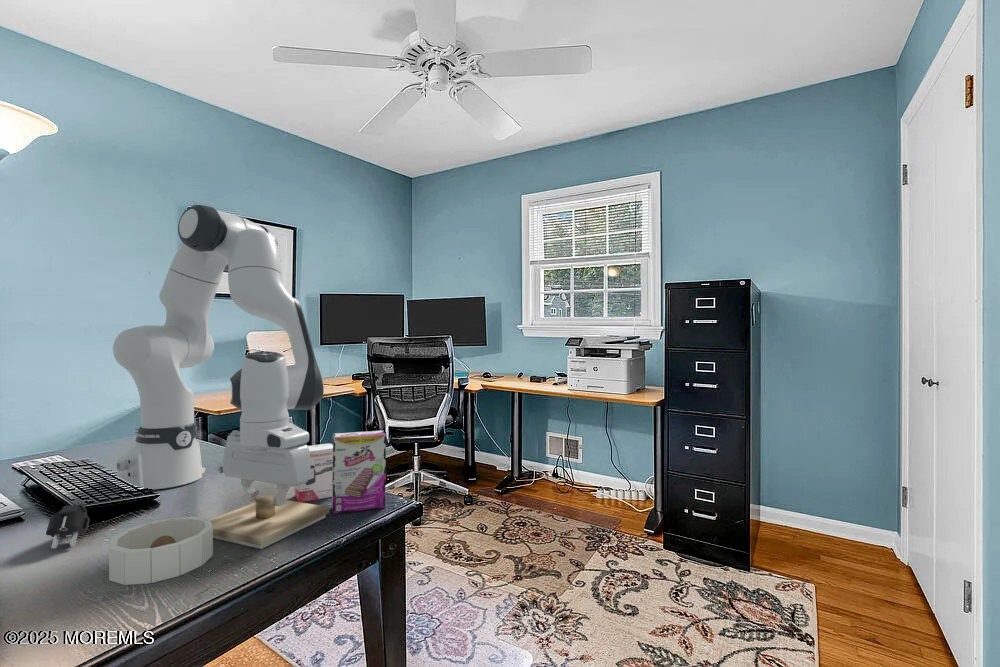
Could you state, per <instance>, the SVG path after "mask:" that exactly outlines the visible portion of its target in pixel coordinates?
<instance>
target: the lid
mask: <svg viewBox="0 0 1000 667" xmlns="http://www.w3.org/2000/svg"><path fill="white" fill-rule="evenodd" d="M274 496H275V495H273V494H269V495H268V494H266V495H261V496H258V498H256V500H255V501H254V502H252V503H250V504H247V505H244V506H241V507H240V508H236V509H234V510H231V511H229V512H226V513H222V514H221V515H219V516H216V517H212V518H209V519H210V521H211V523H212V525H213V535H214V536H219V537H223V538H228V539H232V540H237V541H241V542H246V543H251V544H255V545H260V546H262V545H264V544H266V543H268V542H270V541H272V540H274V539H276V538H278V537H281V536H283V535H285V534H287V533H289V532H291V531H293V530H295V529H297V528H299V527H301V526H303V525H305V524H307V523H309V522H311V521H313V520H316V519H318V518H320V517H322V516H324V515H326V516H327V515H328V514H329V513H330V507H329V506H325V505H318V504H312V503H309V502H298V501H297V500H296V501H294V500H289V499H286V502H285V504H284V505H282V506H274V505H273V497H274Z"/></svg>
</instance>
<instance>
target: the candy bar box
mask: <svg viewBox="0 0 1000 667" xmlns="http://www.w3.org/2000/svg"><path fill="white" fill-rule="evenodd" d="M386 437H387V434H386V433H385V432H384V430H372V431H371V430H369V431H354V432H350V431H349V432H337V433H332V445H333V477H332V497H331V500H332V504H331V505H332V514H333V515H336V514H343V513H354V512H360V511H361V512H363V511H368V510H369V511H370V510H377V509H378V510H379V509H385V508H386V463H387V462H386V461H387V460H386V459H387V458H386V457H387V456H386V455H387V453H386V450H387V449H386V446H387V444H386V443H387V438H386Z"/></svg>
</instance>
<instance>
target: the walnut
mask: <svg viewBox="0 0 1000 667" xmlns="http://www.w3.org/2000/svg"><path fill="white" fill-rule="evenodd" d="M173 543H176V542H175V540H174V538H172V537H171V536H161V537H159V538H157V539H155V540H154V541H153V543H152V544H151V546H150V548H155V547H159V546H164V545H168V544H173Z"/></svg>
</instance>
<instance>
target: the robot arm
mask: <svg viewBox="0 0 1000 667" xmlns="http://www.w3.org/2000/svg"><path fill="white" fill-rule="evenodd" d="M177 224H178V225H177V234H178V236H179V239H180V241H181V243H180V245H179V247H178V248H177V251H176V252H175V253H174V256H173V259H172V261H171V263H170V265H169V268H168V271H167V274H166V275H165V278H164V280H163V284H162V286H161V289H160V291H159V296H158V298H159V301H160V303H161V304H162V305H163V306H164V307H165V310H166V311H165V313H166V315H165V316H166V317H165V322H164V324H163V325H150V324H149V325H148V324H147V325H139V326H136V327H131V328H127V329H125V330H123V331H121V332H120V333H119V334H117V336H116V338H115V339H114V342H113V345H112V353H113V357H114V359H115V361H116V362H117V363H118V364H119V365H120V366H121V367H123V369H125V370H126V371H127V372H128V373H129V374H130V376H131V377H132V380H133V381H134V383H135V386H136V388H137V392H138V395H139V405H140V427H139V428H136V429H134V431H135V432H134V435H135V434H136V438H135V443H134V444H133V445H132V446H130V447H129V449H127V450H126V451H125V452H124V453H123V454H122V455H121V456H120V457H119V458H118V461H117V462H116V470H117V472H116V473H117V474H116V475H117V476H119V477H121V478H123V479H124V480H126V481H128V482H129V483H131V484H133V485H135V486H138V487H144V488H148V489H152V490H160V489H162V490H163V489H169V488H175V487H179V486H182V485H187V484H190V483H193V482H195V481H198V480H200V479H202V477H203V474H204V473H205V472H206V467H204V466H203V465H202V458H201V455H202V454H201V448H200V443H199V441H197V440H196V437H197V429H198V427H197V423H196V422H195V394H194V391H193V390H192V389H191V388H190V387H189V386H187V385H186V384H185V382H184V380H183V378H182V376H181V372H180V369H184V368H185V369H186V368H192V367H195V366H198V365H201V364H204V363H206V362H207V361H209V360H210V358H211V357H212V356H213V354H214V350H215V341H214V339H213V337H212V335H211V334H210V331H209V318H210V311H211V308H212V305H213V303H214V299H215V297H216V294H217V290H218V288H219V286H220V284H221V283H220V282H221V280H222V278H223V274H224V270H225V268H226V266H228V267H227V282H228V290H229V295H230V298H231V299H232V302H233V303H234V304H235V305H236V306H237V307H238V308H239V309H241V310H242V311H243V312H246V313H247V314H250V315H251V316H254V317H257V318H260V319H264V320H267V321H269V322H272V323H273V324H276V325H278V326H280V327H281V328H282V329H283V330H285V332H286V334H287V336H288V339H289V343H290V346H291V351H292V355H293V359H294V363H295V364H293V365H287V360H286V357H285V355H284V354H282V353H280V352H277V351H268V350H267V351H261V350H260V351H254V352H249V353H248V354H245V355H244V357H243V359H242V364H241V368H240V369H239V370H237V371H236V372H235V373H234V374H233V375H232V376H231V377H230V379H229V380H230V385H231V398H230V403H229V404H230V405H232V406H233V407H235V408H236V409H238V410H239V411H241V415H240V417H239V430H232V432H230V433H229V435H227V437H226V444H225V446H224V451H223V460H222V472H223V475H225V477H227V478H228V477H229V478H235V479H240V485H241V487H242V489H243V491H244V492H245V501H246V502H256V498H258V497H259V490H258V489H257V490H256V488H255V484H254V482H255V481H256V482H259V483H262V482H263V483H265V484H267V483H268V484H273V485H274V484H275V485H276V490H278V491H277V493H276V495H273V496H274V497H273V505H274V506H282V505H284V504H285V502H286V500H287V499H286V496H287V495H288V494H287V493H288V492H289V491H290V489H291V487H294V488H295V487H296V486H299V485H302V484H304V483H306V482H307V481H308V480H309V478H310V474H311V462H310V451H309V448H308V446H309V445H307V444H306V443H309V441H310V433H309V432H308V431H306V430H305V429H303V428H301V427H299V426H297V425H296V424H294V423H293V422H291V421H290V413H289V410H294V411H295V410H300V411H301V410H306V411H309V410H310V409H313V408H314V407H315V406H316V405H317V404H318V403H319V402H320V401H321V400H322V399H323V397H324V391H325V390H324V389H325V385H324V379H323V376H322V373H321V371H320V368H319V365H318V362H317V359H316V356H315V351H314V348H313V343H312V341H311V337H310V336H311V335H310V333H309V329H308V324H307V321H306V317H305V313H304V310H303V308H302V306H301V303H300V302H299V299H298V298H296V297H294V296H292V295H291V294H290V293H289V292H288V289H287V288H286V286H285V284H284V281H283V270H282V269H283V268H282V261H281V256H280V251H279V247H278V238H277V236H276V235H275V233H273V232H272V231H271V230H270V229H269V228H267V227H265V226H264V225H259V224H257V223H255V222H254V221H251V220H249V219H247V218H245V217H243V216H240V215H235V214H232V213H229V212H226V211H222V210H219V209H216V208H214V207H212V206H209V205H203V204H194V205H191V206H190V207H188V208H186V210H184V212H183V213H182V214H181V216H180V217H179V220H178V223H177Z"/></svg>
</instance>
